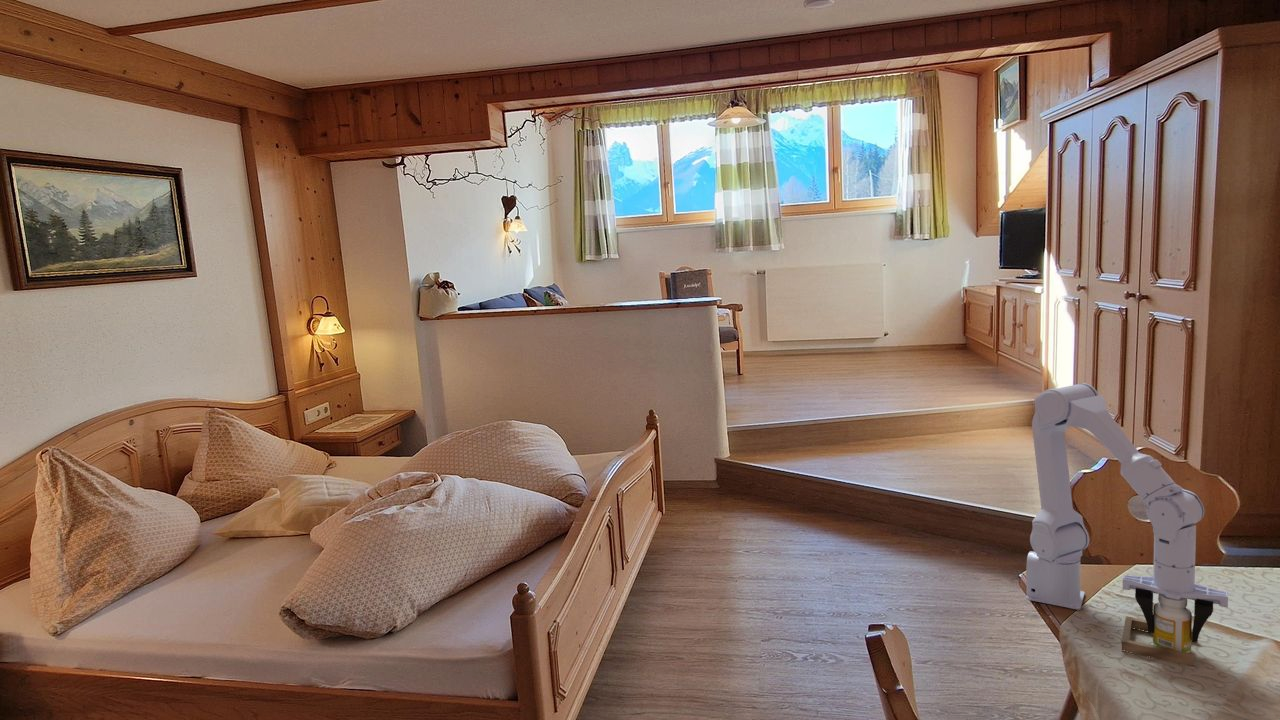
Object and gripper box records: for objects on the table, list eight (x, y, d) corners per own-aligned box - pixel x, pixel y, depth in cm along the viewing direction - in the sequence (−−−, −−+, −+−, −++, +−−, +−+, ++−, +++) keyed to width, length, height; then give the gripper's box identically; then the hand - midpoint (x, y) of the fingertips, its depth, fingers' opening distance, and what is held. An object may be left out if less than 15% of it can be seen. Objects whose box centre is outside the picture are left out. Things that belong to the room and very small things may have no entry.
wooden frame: (1121, 650, 125) (1121, 641, 125) (1125, 625, 133) (1125, 616, 133) (1193, 666, 119) (1193, 656, 119) (1193, 638, 127) (1193, 629, 127)
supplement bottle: (1183, 640, 127) (1184, 589, 126) (1196, 657, 122) (1198, 603, 120) (1147, 638, 129) (1148, 587, 127) (1159, 654, 123) (1160, 601, 122)
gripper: (1121, 562, 124) (1120, 635, 126) (1229, 579, 115) (1227, 657, 117) (1124, 547, 130) (1123, 617, 132) (1228, 562, 121) (1225, 637, 123)
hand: (1172, 635), depth 125 cm, fingers open, 5 cm apart
